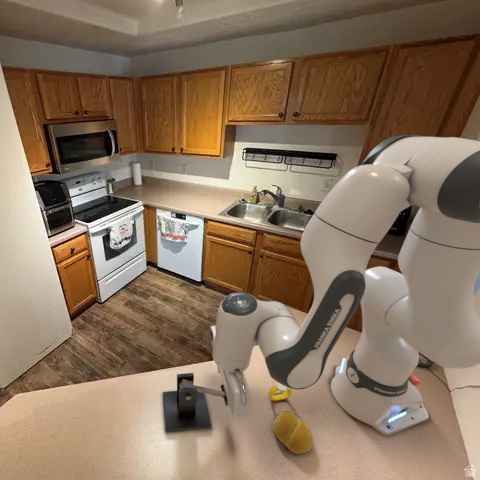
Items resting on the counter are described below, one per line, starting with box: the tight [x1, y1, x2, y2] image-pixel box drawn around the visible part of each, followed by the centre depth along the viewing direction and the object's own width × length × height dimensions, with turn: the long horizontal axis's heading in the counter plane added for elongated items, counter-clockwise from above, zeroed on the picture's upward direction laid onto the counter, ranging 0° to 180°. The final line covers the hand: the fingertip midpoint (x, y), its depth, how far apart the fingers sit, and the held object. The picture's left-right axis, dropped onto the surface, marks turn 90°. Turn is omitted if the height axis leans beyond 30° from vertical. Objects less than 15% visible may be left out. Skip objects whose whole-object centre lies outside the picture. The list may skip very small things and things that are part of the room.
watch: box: [268, 381, 292, 402], centre depth 73 cm, size 6×3×6 cm, turn 97°
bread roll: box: [271, 411, 314, 454], centre depth 65 cm, size 8×9×4 cm
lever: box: [179, 379, 228, 407], centre depth 68 cm, size 14×5×2 cm, turn 95°
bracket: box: [162, 372, 212, 433], centre depth 69 cm, size 12×10×13 cm
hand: (225, 387), depth 68 cm, fingers open, 8 cm apart
